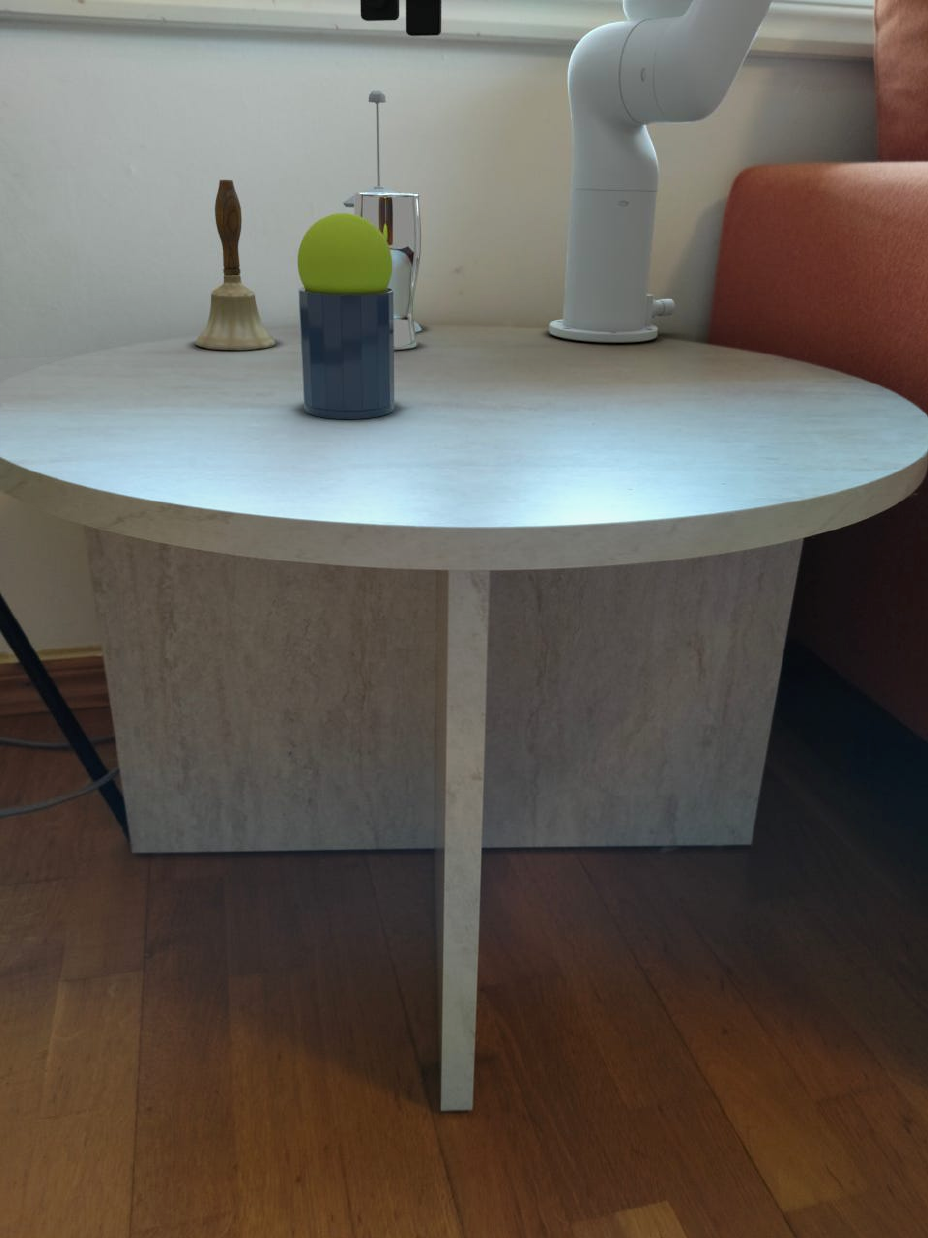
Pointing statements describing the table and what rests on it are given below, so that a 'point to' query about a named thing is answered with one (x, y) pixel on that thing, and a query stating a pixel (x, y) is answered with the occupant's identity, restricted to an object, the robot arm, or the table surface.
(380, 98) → the french press
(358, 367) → the cup
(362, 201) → the beer glass
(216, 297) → the hand bell
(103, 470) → the table surface
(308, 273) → the ball
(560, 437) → the table surface
